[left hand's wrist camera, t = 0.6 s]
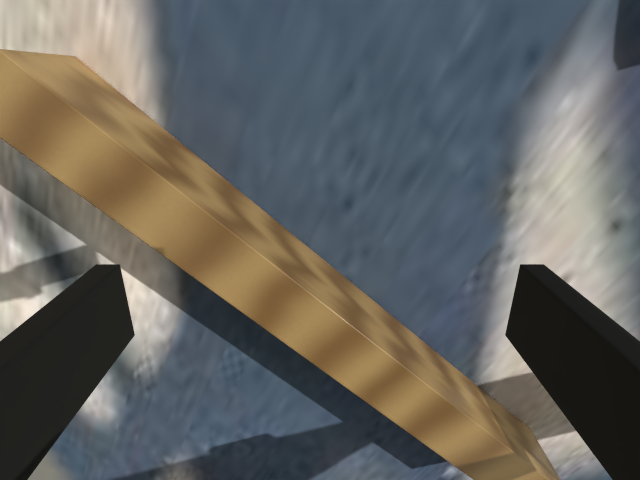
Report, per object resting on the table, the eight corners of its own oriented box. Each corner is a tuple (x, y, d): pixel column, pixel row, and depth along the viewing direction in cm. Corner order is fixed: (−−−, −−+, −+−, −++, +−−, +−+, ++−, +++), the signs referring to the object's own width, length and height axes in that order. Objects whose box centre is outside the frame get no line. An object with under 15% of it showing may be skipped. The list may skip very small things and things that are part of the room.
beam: (46, 104, 33) (-37, 111, 25) (75, 56, 31) (-4, 48, 24) (497, 451, 48) (530, 521, 40) (530, 429, 46) (571, 497, 39)
